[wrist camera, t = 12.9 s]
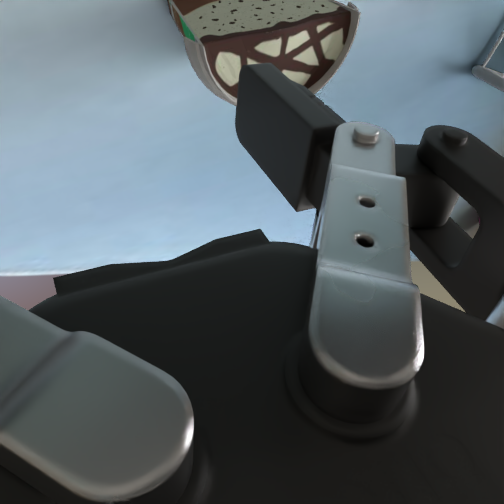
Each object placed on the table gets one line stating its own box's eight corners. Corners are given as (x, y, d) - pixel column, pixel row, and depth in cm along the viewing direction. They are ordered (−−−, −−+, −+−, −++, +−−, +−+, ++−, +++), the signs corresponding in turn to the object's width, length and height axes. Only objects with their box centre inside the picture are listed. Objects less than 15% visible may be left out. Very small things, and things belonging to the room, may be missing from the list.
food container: (161, 80, 39) (205, 138, 33) (146, 0, 35) (194, 48, 28) (292, 49, 43) (356, 96, 36) (294, -27, 38) (367, 10, 32)
